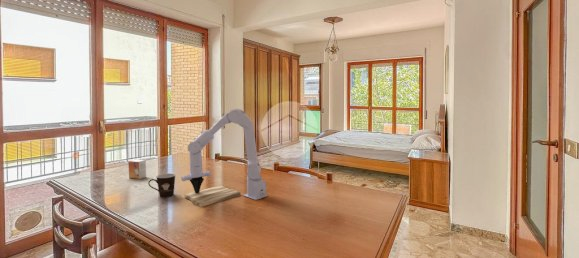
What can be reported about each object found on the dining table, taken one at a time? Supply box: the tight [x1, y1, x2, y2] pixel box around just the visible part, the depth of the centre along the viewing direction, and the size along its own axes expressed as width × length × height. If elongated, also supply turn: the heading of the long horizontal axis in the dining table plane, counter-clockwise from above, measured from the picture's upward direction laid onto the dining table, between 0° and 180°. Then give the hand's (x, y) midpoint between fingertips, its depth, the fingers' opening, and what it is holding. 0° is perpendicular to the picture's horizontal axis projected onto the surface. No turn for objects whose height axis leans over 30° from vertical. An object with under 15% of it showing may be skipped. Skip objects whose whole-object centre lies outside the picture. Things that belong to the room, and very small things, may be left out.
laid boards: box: [192, 188, 242, 208], centre depth 140 cm, size 7×22×2 cm, turn 137°
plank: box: [184, 185, 230, 202], centre depth 146 cm, size 8×20×2 cm, turn 137°
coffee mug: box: [147, 173, 176, 198], centre depth 145 cm, size 12×9×10 cm
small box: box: [128, 159, 147, 180], centre depth 179 cm, size 8×6×10 cm
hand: (197, 192), depth 144 cm, fingers closed, pressing on plank
